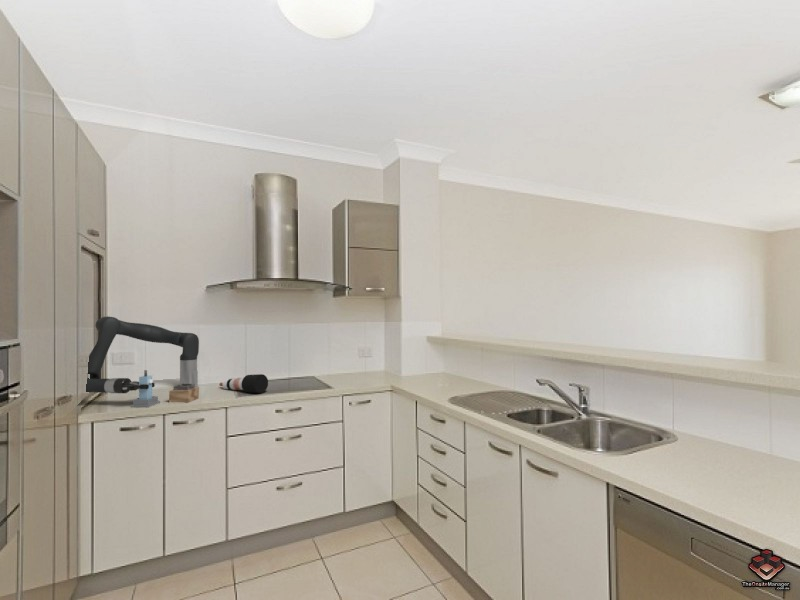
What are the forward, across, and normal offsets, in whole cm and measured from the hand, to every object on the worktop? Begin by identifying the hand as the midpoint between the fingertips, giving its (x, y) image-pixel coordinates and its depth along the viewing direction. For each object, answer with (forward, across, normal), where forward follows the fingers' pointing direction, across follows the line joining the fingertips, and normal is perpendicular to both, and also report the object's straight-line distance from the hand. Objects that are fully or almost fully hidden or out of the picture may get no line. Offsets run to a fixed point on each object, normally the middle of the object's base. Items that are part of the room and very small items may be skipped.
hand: (151, 385), depth 202 cm
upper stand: (+11, +10, +10) cm, 18 cm away
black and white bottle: (+31, +33, +10) cm, 47 cm away
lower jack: (-3, 0, +10) cm, 10 cm away
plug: (-3, 0, +7) cm, 8 cm away
